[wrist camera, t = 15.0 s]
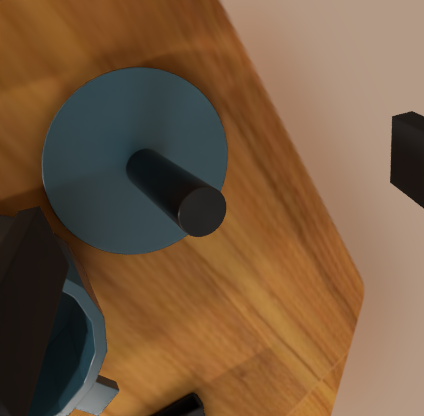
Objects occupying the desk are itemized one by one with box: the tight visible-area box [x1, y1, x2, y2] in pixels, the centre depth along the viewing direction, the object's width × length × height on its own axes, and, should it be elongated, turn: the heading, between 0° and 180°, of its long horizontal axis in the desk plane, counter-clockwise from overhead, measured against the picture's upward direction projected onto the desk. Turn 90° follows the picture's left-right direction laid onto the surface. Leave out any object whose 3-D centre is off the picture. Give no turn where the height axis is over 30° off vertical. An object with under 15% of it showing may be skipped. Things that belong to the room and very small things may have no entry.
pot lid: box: [41, 67, 227, 254], centre depth 26 cm, size 15×15×11 cm
